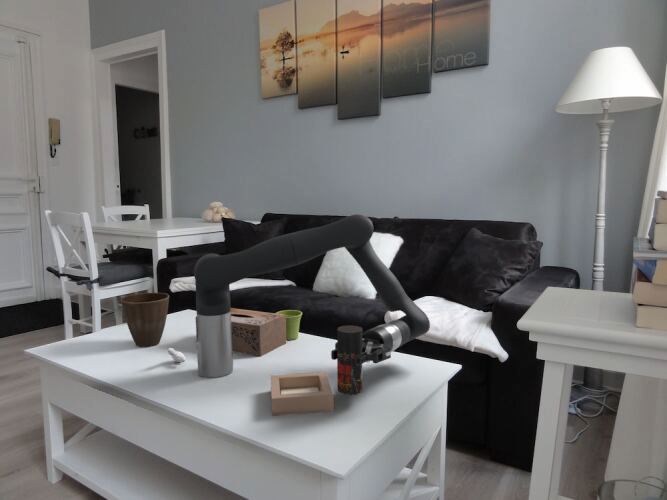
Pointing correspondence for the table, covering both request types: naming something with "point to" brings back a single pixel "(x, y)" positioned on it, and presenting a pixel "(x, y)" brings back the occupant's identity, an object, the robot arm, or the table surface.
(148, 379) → the table surface
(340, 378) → the deodorant
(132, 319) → the plant pot
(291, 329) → the plant pot
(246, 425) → the table surface
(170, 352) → the rabbit figurine
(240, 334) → the tissue box cover
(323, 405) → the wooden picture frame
